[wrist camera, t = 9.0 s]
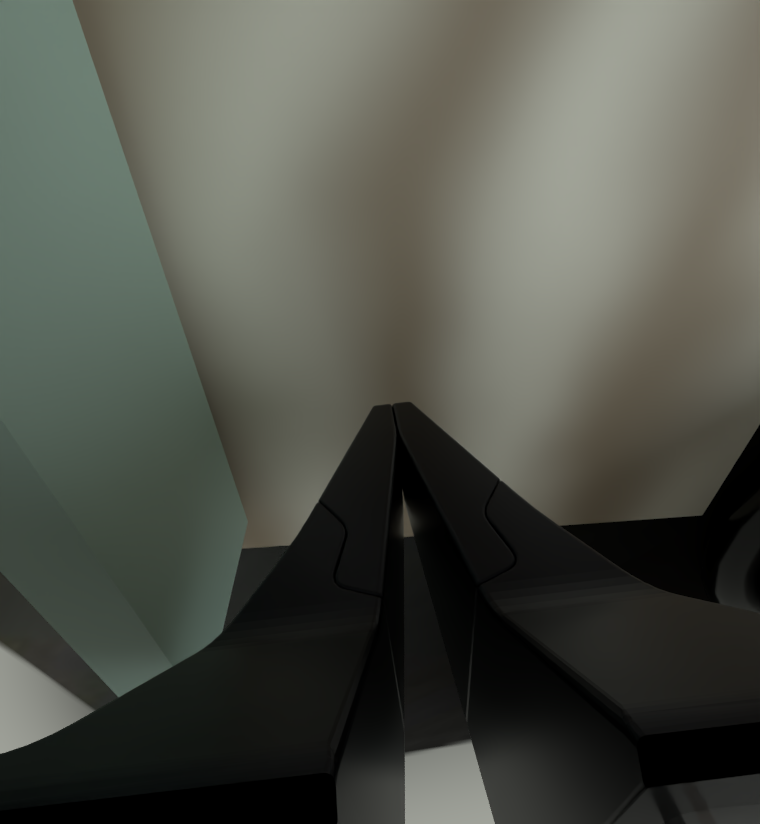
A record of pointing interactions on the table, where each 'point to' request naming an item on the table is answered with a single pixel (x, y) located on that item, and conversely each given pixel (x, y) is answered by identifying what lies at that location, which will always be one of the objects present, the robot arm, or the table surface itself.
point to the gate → (98, 382)
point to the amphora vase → (735, 552)
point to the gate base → (456, 234)
